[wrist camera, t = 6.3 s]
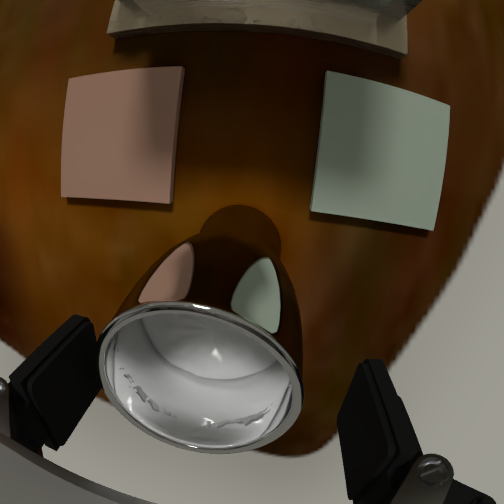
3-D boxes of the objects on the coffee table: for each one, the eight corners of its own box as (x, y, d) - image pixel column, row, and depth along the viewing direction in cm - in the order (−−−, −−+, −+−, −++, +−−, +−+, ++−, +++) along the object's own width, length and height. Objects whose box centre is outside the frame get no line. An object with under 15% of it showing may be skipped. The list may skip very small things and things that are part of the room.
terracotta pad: (185, 68, 18) (182, 66, 17) (172, 201, 21) (169, 203, 21) (74, 80, 18) (69, 78, 18) (66, 195, 22) (61, 196, 21)
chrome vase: (186, 204, 21) (56, 299, 7) (282, 193, 21) (309, 283, 7) (202, 291, 24) (133, 448, 9) (290, 284, 23) (310, 454, 9)
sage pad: (444, 107, 18) (450, 106, 17) (428, 228, 21) (433, 230, 20) (325, 73, 18) (327, 70, 17) (309, 208, 21) (311, 211, 20)
